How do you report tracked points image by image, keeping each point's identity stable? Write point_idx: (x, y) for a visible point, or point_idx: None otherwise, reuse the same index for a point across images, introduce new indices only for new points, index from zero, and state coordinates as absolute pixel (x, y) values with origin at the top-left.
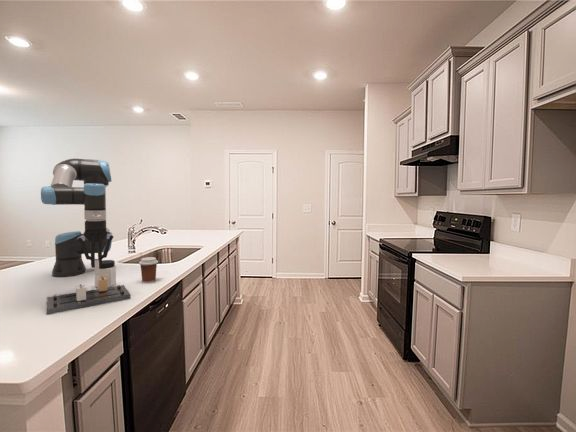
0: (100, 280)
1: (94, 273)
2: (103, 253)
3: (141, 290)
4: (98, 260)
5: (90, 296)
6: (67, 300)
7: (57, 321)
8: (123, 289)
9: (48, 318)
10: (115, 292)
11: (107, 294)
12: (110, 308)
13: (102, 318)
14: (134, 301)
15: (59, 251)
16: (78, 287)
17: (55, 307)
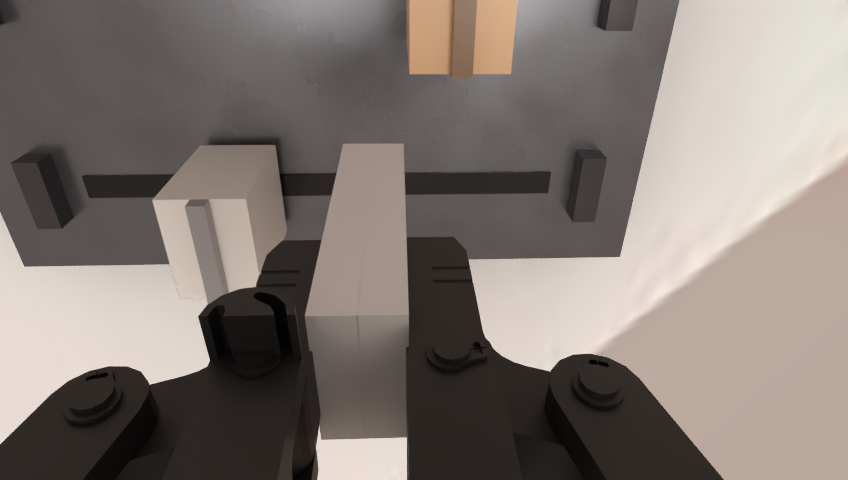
0: (426, 73)
1: (342, 149)
2: (581, 464)
3: (785, 56)
4: (398, 432)
5: (320, 123)
6: (127, 126)
7: (157, 381)
8: (633, 72)
9: (88, 315)
10: (538, 134)
11: (464, 152)
12: None
13: (380, 447)
14: (603, 303)
15: None
16: (188, 260)
17: (79, 257)
